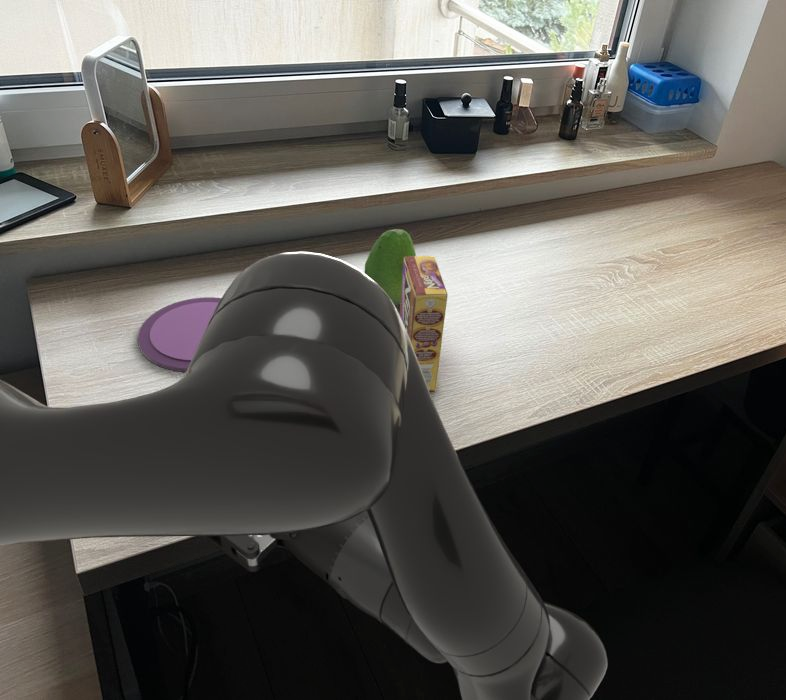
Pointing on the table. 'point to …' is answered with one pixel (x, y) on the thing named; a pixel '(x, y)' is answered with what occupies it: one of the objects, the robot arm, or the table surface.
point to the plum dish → (176, 332)
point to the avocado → (390, 261)
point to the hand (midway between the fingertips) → (236, 451)
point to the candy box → (424, 312)
